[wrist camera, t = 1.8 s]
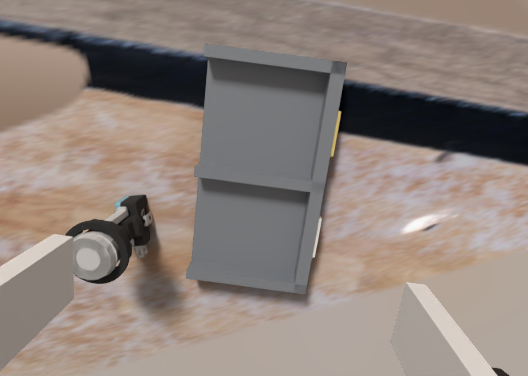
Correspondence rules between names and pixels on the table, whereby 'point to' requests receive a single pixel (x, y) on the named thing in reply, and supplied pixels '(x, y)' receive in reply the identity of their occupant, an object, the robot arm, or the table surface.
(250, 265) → the gray divided compartment tray
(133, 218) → the push button
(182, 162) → the table surface
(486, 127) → the table surface
